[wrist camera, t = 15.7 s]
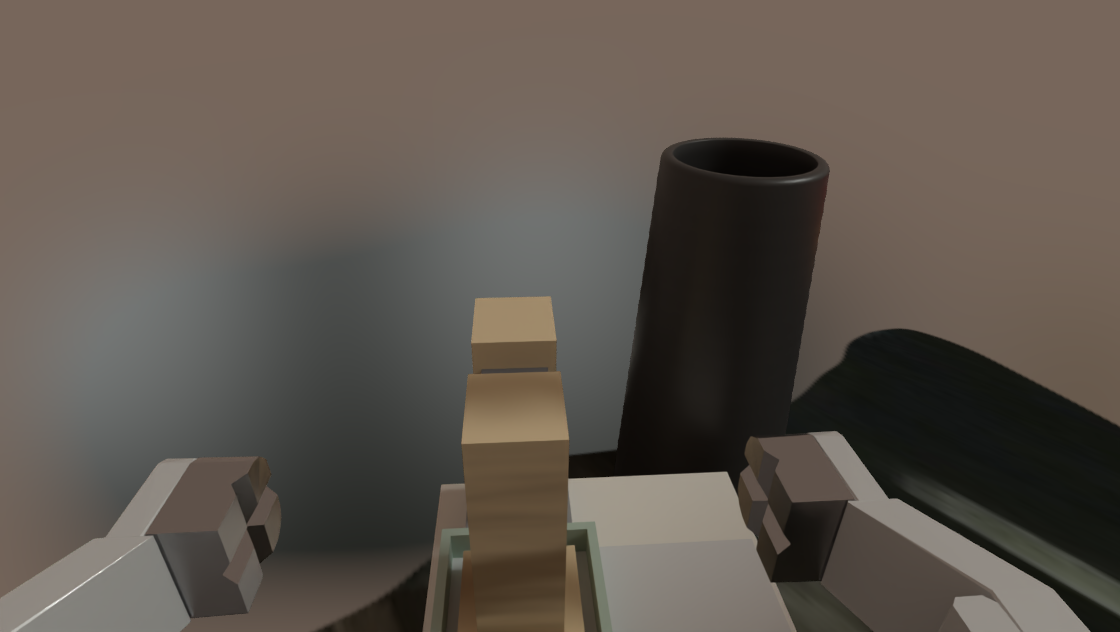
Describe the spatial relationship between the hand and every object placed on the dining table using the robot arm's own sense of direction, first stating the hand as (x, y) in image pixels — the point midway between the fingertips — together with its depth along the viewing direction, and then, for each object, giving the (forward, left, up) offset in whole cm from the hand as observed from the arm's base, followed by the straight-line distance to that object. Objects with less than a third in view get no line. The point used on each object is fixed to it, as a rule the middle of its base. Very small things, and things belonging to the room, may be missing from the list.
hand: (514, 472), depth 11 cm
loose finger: (+12, 0, -21) cm, 24 cm away
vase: (+31, -15, -32) cm, 47 cm away
